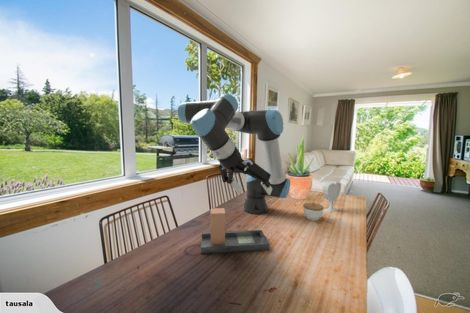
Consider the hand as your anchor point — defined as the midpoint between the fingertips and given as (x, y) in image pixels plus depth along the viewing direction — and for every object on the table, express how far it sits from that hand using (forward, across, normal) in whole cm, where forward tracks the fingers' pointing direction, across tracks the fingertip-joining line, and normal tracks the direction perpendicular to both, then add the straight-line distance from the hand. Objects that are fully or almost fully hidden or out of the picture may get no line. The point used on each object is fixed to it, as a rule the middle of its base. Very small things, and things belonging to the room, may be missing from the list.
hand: (254, 191), depth 82 cm
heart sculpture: (+70, +6, +39) cm, 81 cm away
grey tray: (+20, -16, -13) cm, 29 cm away
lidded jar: (+55, +1, +23) cm, 60 cm away
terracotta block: (+15, -21, -16) cm, 30 cm away
